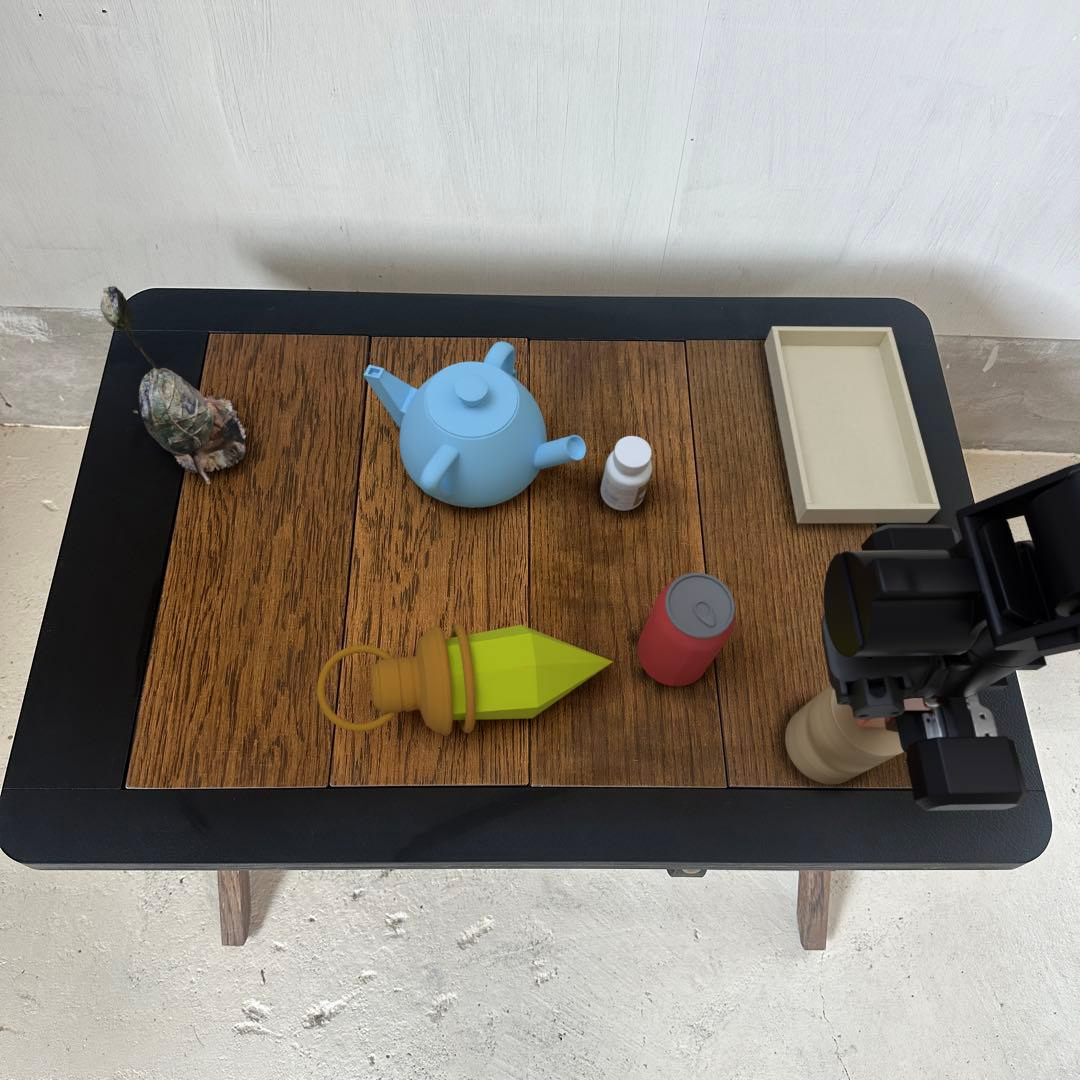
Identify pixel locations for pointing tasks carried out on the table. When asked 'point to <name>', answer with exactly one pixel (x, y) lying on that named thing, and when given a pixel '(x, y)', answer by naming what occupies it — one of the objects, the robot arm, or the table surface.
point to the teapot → (472, 430)
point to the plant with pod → (181, 408)
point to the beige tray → (848, 426)
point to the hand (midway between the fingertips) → (885, 695)
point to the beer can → (686, 629)
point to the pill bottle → (627, 473)
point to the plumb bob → (470, 677)
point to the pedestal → (836, 741)
